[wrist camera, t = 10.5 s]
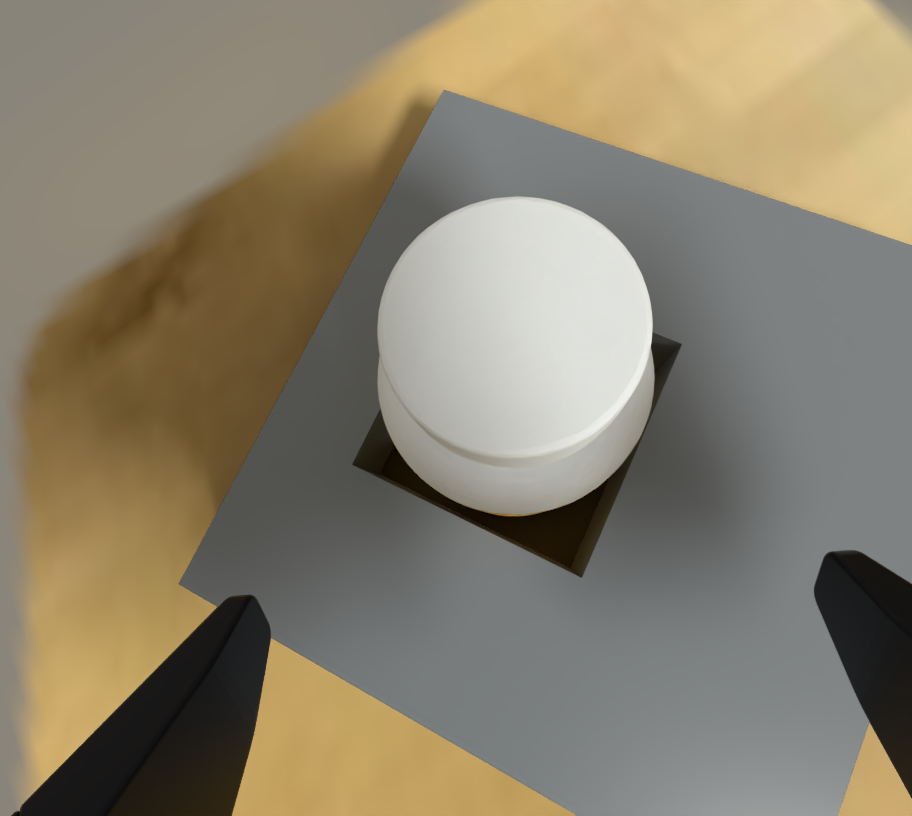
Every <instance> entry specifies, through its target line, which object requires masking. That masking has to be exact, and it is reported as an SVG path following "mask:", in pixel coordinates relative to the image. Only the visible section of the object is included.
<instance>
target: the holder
mask: <svg viewBox="0 0 912 816" xmlns="http://www.w3.org/2000/svg"><path fill="white" fill-rule="evenodd" d="M515 196H519V197H533V198H542V199H547V200H552V201H556V202H559V203H561V204H564V205H567V206H570V207H572V208H575V209H577V210H579V211H582V212H583V213H585V214H587V215H588V216H590V217H592V218H593V219H595V220H596V221H598V222H599V223H601V224H602V225H604V226H605V227H606V228H607V229H609V230H610V231H611V232H612V233H613V234H614V235H615V236H616V237H617V238H618V239H619V240H620V241H621V243H622V244H623V245H624V246H625V247H626V248H627V250H628V251H629V253H630V254H631V256H632V257H633V259H634V260H635V262H636V264H637V266H638V268H639V270H640V272H641V274H642V276H643V279H644V282H645V284H646V287H647V290H648V294H649V297H650V303H651V309H652V320H653V328H652V343H651V351H652V356H653V363H654V376H655V380H654V394H653V399H652V405H651V409H650V413H649V416H648V419H647V423H646V425H645V427H644V430H643V432H642V434H641V436H640V438H639V440H638V442H637V443H636V445H635V446H634V448H633V450H632V451H631V453H630V454H629V455H628V457H627V458H626V459H625V461H624V462H623V463H622V465H621V466H620V467H619V468H618V469H617V470H616V471H615V472H614V473H613V474H612V475H611V476H610V477H609V480H608V482H607V484H606V487H605V489H604V491H603V494H602V496H601V498H600V500H599V503H598V505H597V507H596V510H595V512H594V514H593V517H592V519H591V521H590V524H589V526H588V528H587V531H586V533H585V535H584V537H583V540H582V542H581V544H580V547H579V549H578V551H577V554H576V556H575V558H574V561H573V563H572V565H571V568H569V567H567V566H565V565H563V564H561V563H559V562H557V561H555V560H553V559H551V558H549V557H547V556H545V555H543V554H541V553H539V552H537V551H535V550H533V549H531V548H529V547H527V546H524V545H522V544H520V543H518V542H516V541H514V540H512V539H510V538H508V537H506V536H504V535H502V534H500V533H498V532H496V531H494V530H492V529H490V528H488V527H486V526H484V525H482V524H480V523H478V522H476V521H474V520H472V519H470V518H468V517H466V516H463V515H461V514H459V513H457V512H455V511H453V510H451V509H449V508H447V507H445V506H443V505H441V504H439V503H437V502H435V501H433V500H431V499H429V498H427V497H425V496H423V495H421V494H419V493H417V492H415V491H413V490H411V489H409V488H407V487H405V486H402V485H400V484H398V483H396V482H394V481H392V480H390V479H388V478H386V477H384V476H382V475H380V472H381V470H382V468H383V466H384V464H385V462H386V460H387V458H388V456H389V454H390V452H391V450H392V448H393V446H394V443H393V441H392V439H391V437H390V435H389V433H388V430H387V428H386V425H385V422H384V419H383V415H382V412H381V407H380V403H379V397H378V385H377V382H378V364H379V357H380V353H379V347H378V337H377V326H378V313H379V307H380V302H381V298H382V295H383V292H384V289H385V285H386V283H387V281H388V278H389V276H390V274H391V272H392V270H393V268H394V266H395V265H396V263H397V261H398V260H399V258H400V257H401V255H402V254H403V252H404V251H405V250H406V249H407V248H408V246H409V245H410V244H411V243H412V242H413V241H414V240H415V239H416V237H417V236H418V235H419V234H421V233H422V232H423V231H424V230H425V229H427V228H428V227H429V226H431V225H432V224H433V223H435V222H436V221H438V220H439V219H441V218H442V217H444V216H446V215H448V214H449V213H451V212H453V211H456V210H458V209H461V208H463V207H465V206H468V205H470V204H474V203H477V202H480V201H485V200H489V199H493V198H503V197H515ZM842 550H857V551H860V552H862V553H864V554H866V555H867V556H869V557H870V558H872V559H874V560H875V561H877V562H878V563H880V564H881V565H883V566H885V567H886V568H888V569H889V570H891V571H893V572H894V573H896V574H897V575H899V576H901V577H902V578H904V579H905V580H907V581H909V582H910V583H912V245H909V244H906V243H903V242H900V241H897V240H894V239H891V238H888V237H885V236H882V235H879V234H876V233H873V232H870V231H867V230H864V229H861V228H858V227H855V226H852V225H849V224H846V223H843V222H840V221H837V220H834V219H831V218H828V217H825V216H822V215H819V214H816V213H813V212H810V211H807V210H804V209H801V208H798V207H795V206H792V205H789V204H786V203H783V202H780V201H777V200H774V199H771V198H768V197H765V196H762V195H759V194H756V193H753V192H750V191H747V190H744V189H741V188H738V187H735V186H732V185H729V184H726V183H723V182H720V181H717V180H714V179H711V178H708V177H705V176H702V175H699V174H696V173H693V172H690V171H687V170H684V169H681V168H678V167H675V166H672V165H669V164H666V163H663V162H660V161H657V160H654V159H651V158H648V157H645V156H642V155H639V154H636V153H633V152H630V151H627V150H624V149H621V148H618V147H615V146H612V145H609V144H606V143H603V142H600V141H597V140H594V139H591V138H588V137H585V136H582V135H579V134H576V133H573V132H570V131H567V130H564V129H561V128H558V127H555V126H552V125H549V124H546V123H543V122H540V121H537V120H534V119H531V118H528V117H525V116H522V115H519V114H516V113H513V112H510V111H507V110H504V109H500V108H497V107H494V106H491V105H488V104H485V103H482V102H479V101H476V100H473V99H470V98H467V97H464V96H461V95H458V94H455V93H452V92H449V91H446V90H444V91H443V92H442V94H441V96H440V98H439V100H438V102H437V104H436V106H435V107H434V109H433V111H432V113H431V115H430V117H429V119H428V120H427V122H426V124H425V126H424V128H423V130H422V132H421V133H420V135H419V137H418V139H417V141H416V143H415V145H414V147H413V148H412V150H411V152H410V154H409V156H408V158H407V160H406V161H405V163H404V165H403V167H402V169H401V171H400V173H399V174H398V176H397V178H396V180H395V182H394V184H393V186H392V187H391V189H390V191H389V193H388V195H387V197H386V199H385V201H384V202H383V204H382V206H381V208H380V210H379V212H378V214H377V215H376V217H375V219H374V221H373V223H372V225H371V227H370V228H369V230H368V232H367V234H366V236H365V238H364V240H363V242H362V243H361V245H360V247H359V249H358V251H357V253H356V255H355V256H354V258H353V260H352V262H351V264H350V266H349V268H348V269H347V271H346V273H345V275H344V277H343V279H342V281H341V283H340V284H339V286H338V288H337V290H336V292H335V294H334V296H333V297H332V299H331V301H330V303H329V305H328V307H327V309H326V310H325V312H324V314H323V316H322V318H321V320H320V322H319V324H318V325H317V327H316V329H315V331H314V333H313V335H312V337H311V338H310V340H309V342H308V344H307V346H306V348H305V350H304V351H303V353H302V355H301V357H300V359H299V361H298V363H297V364H296V366H295V368H294V370H293V372H292V374H291V376H290V378H289V379H288V381H287V383H286V385H285V387H284V389H283V391H282V392H281V394H280V396H279V398H278V400H277V402H276V404H275V405H274V407H273V409H272V411H271V413H270V415H269V417H268V419H267V420H266V422H265V424H264V426H263V428H262V430H261V432H260V433H259V435H258V437H257V439H256V441H255V443H254V445H253V446H252V448H251V450H250V452H249V454H248V456H247V458H246V460H245V461H244V463H243V465H242V467H241V469H240V471H239V473H238V474H237V476H236V478H235V480H234V482H233V484H232V486H231V487H230V489H229V491H228V493H227V495H226V497H225V499H224V500H223V502H222V504H221V506H220V508H219V510H218V512H217V514H216V515H215V517H214V519H213V521H212V523H211V525H210V527H209V528H208V530H207V532H206V534H205V536H204V538H203V540H202V541H201V543H200V545H199V547H198V549H197V551H196V553H195V555H194V556H193V558H192V560H191V562H190V564H189V566H188V568H187V569H186V571H185V573H184V575H183V577H182V579H181V581H180V582H179V585H181V586H183V587H185V588H186V589H188V590H190V591H191V592H193V593H195V594H197V595H198V596H200V597H202V598H204V599H205V600H207V601H209V602H210V603H212V604H214V605H216V606H217V607H218V606H219V605H220V604H221V603H222V602H223V601H224V600H225V599H227V598H228V597H230V596H237V595H253V596H255V597H256V598H257V600H258V602H259V604H260V606H261V608H262V610H263V612H264V614H265V616H266V618H267V620H268V622H269V625H270V628H271V638H272V639H274V640H276V641H278V642H279V643H281V644H283V645H284V646H286V647H288V648H290V649H291V650H293V651H295V652H297V653H298V654H300V655H302V656H303V657H305V658H307V659H309V660H310V661H312V662H314V663H316V664H317V665H319V666H321V667H322V668H324V669H326V670H328V671H329V672H331V673H333V674H334V675H336V676H338V677H340V678H341V679H343V680H345V681H347V682H348V683H350V684H352V685H353V686H355V687H357V688H359V689H360V690H362V691H364V692H365V693H367V694H369V695H371V696H372V697H374V698H376V699H378V700H379V701H381V702H383V703H384V704H386V705H388V706H390V707H391V708H393V709H395V710H396V711H398V712H400V713H402V714H403V715H405V716H407V717H409V718H410V719H412V720H414V721H415V722H417V723H419V724H421V725H422V726H424V727H426V728H428V729H429V730H431V731H433V732H434V733H436V734H438V735H440V736H441V737H443V738H445V739H446V740H448V741H450V742H452V743H453V744H455V745H457V746H459V747H460V748H462V749H464V750H465V751H467V752H469V753H471V754H472V755H474V756H476V757H477V758H479V759H481V760H483V761H484V762H486V763H488V764H490V765H491V766H493V767H495V768H496V769H498V770H500V771H502V772H503V773H505V774H507V775H509V776H510V777H512V778H514V779H515V780H517V781H519V782H521V783H522V784H524V785H526V786H527V787H529V788H531V789H533V790H534V791H536V792H538V793H540V794H541V795H543V796H545V797H546V798H548V799H550V800H552V801H553V802H555V803H557V804H558V805H560V806H562V807H564V808H565V809H567V810H569V811H571V812H572V813H574V814H576V815H577V816H838V814H839V811H840V808H841V805H842V802H843V799H844V796H845V793H846V790H847V787H848V784H849V781H850V778H851V775H852V772H853V769H854V766H855V763H856V760H857V757H858V754H859V751H860V748H861V745H862V742H863V739H864V736H865V733H866V730H867V727H868V725H869V720H868V718H867V716H866V714H865V712H864V710H863V709H862V707H861V705H860V703H859V701H858V699H857V696H856V694H855V692H854V690H853V688H852V685H851V683H850V681H849V678H848V676H847V674H846V671H845V669H844V667H843V664H842V662H841V660H840V657H839V655H838V653H837V650H836V648H835V646H834V643H833V641H832V639H831V636H830V634H829V632H828V629H827V627H826V625H825V622H824V620H823V618H822V615H821V613H820V611H819V608H818V606H817V603H816V601H815V597H814V585H815V582H816V579H817V576H818V573H819V570H820V567H821V564H822V561H823V558H824V556H825V555H826V554H827V553H828V552H831V551H842Z"/></svg>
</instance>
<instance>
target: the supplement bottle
mask: <svg viewBox="0 0 912 816" xmlns="http://www.w3.org/2000/svg"><path fill="white" fill-rule="evenodd" d="M652 328H653V320H652V309H651V303H650V297H649V294H648V290H647V287H646V284H645V282H644V279H643V276H642V274H641V272H640V270H639V268H638V266H637V264H636V262H635V260H634V259H633V257H632V256H631V254H630V253H629V251H628V250H627V248H626V247H625V246H624V245H623V244H622V243H621V241H620V240H619V239H618V238H617V237H616V236H615V235H614V234H613V233H612V232H611V231H610V230H609V229H607V228H606V227H605V226H604V225H602V224H601V223H599V222H598V221H596V220H595V219H593V218H592V217H590V216H588V215H587V214H585V213H583V212H582V211H579V210H577V209H575V208H572V207H570V206H567V205H564V204H561V203H559V202H556V201H552V200H547V199H542V198H533V197H519V196H515V197H503V198H493V199H489V200H485V201H480V202H477V203H474V204H470V205H468V206H465V207H463V208H461V209H458V210H456V211H453V212H451V213H449V214H448V215H446V216H444V217H442V218H441V219H439V220H438V221H436V222H435V223H433V224H432V225H431V226H429V227H428V228H427V229H425V230H424V231H423V232H422V233H421V234H419V235H418V236H417V237H416V239H415V240H414V241H413V242H412V243H411V244H410V245H409V246H408V248H407V249H406V250H405V251H404V252H403V254H402V255H401V257H400V258H399V260H398V261H397V263H396V265H395V266H394V268H393V270H392V272H391V274H390V276H389V278H388V281H387V283H386V285H385V289H384V292H383V295H382V298H381V302H380V307H379V313H378V326H377V337H378V347H379V353H380V357H379V364H378V382H377V385H378V397H379V403H380V407H381V412H382V415H383V419H384V422H385V425H386V428H387V430H388V433H389V435H390V437H391V439H392V441H393V443H394V445H395V447H396V448H397V450H398V451H399V453H400V455H401V456H402V457H403V459H404V460H405V461H406V463H407V464H408V465H409V466H410V467H411V469H412V470H413V471H414V472H415V473H416V474H417V475H418V476H419V477H420V478H421V479H422V480H424V481H425V482H426V483H427V484H429V485H430V486H431V487H432V488H434V489H435V490H437V491H438V492H440V493H441V494H443V495H444V496H446V497H448V498H449V499H451V500H453V501H455V502H457V503H460V504H462V505H464V506H466V507H470V508H473V509H476V510H480V511H483V512H487V513H491V514H495V515H500V516H509V517H515V516H528V515H533V514H537V513H541V512H544V511H548V510H553V509H555V508H559V507H562V506H564V505H567V504H570V503H572V502H574V501H576V500H578V499H580V498H582V497H583V496H585V495H587V494H588V493H590V492H591V491H593V490H594V489H596V488H597V487H599V486H600V485H601V484H602V483H603V482H604V481H605V480H607V479H608V478H609V477H610V476H611V475H612V474H613V473H614V472H615V471H616V470H617V469H618V468H619V467H620V466H621V465H622V463H623V462H624V461H625V459H626V458H627V457H628V455H629V454H630V453H631V451H632V450H633V448H634V446H635V445H636V443H637V442H638V440H639V438H640V436H641V434H642V432H643V430H644V427H645V425H646V423H647V419H648V416H649V413H650V409H651V405H652V399H653V394H654V380H655V376H654V363H653V356H652V351H651V343H652Z"/></svg>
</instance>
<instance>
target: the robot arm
mask: <svg viewBox="0 0 912 816" xmlns="http://www.w3.org/2000/svg"><path fill="white" fill-rule="evenodd" d="M814 597H815V601H816V603H817V606H818V608H819V611H820V613H821V615H822V618H823V620H824V622H825V625H826V627H827V629H828V632H829V634H830V636H831V639H832V641H833V643H834V646H835V648H836V650H837V653H838V655H839V657H840V660H841V662H842V664H843V667H844V669H845V671H846V674H847V676H848V678H849V681H850V683H851V685H852V688H853V690H854V692H855V694H856V696H857V699H858V701H859V703H860V705H861V707H862V709H863V710H864V712H865V714H866V716H867V718H868V720H869V722H870V724H871V725H872V727H873V729H874V731H875V733H876V735H877V736H878V738H879V740H880V742H881V744H882V745H883V747H884V749H885V751H886V753H887V754H888V756H889V758H890V760H891V762H892V764H893V765H894V767H895V769H896V771H897V773H898V774H899V776H900V778H901V780H902V782H903V783H904V785H905V787H906V789H907V791H908V793H909V794H910V796H911V798H912V583H910V582H909V581H907V580H905V579H904V578H902V577H901V576H899V575H897V574H896V573H894V572H893V571H891V570H889V569H888V568H886V567H885V566H883V565H881V564H880V563H878V562H877V561H875V560H874V559H872V558H870V557H869V556H867V555H866V554H864V553H862V552H860V551H857V550H842V551H831V552H828V553H827V554H826V555H825V556H824V558H823V561H822V564H821V567H820V570H819V573H818V576H817V579H816V582H815V585H814ZM270 640H271V628H270V625H269V622H268V620H267V618H266V616H265V614H264V612H263V610H262V608H261V606H260V604H259V602H258V600H257V598H256V597H255V596H253V595H237V596H230V597H228V598H227V599H225V600H224V601H223V602H222V603H221V604H220V605H219V606H218V607H217V608H216V609H215V610H214V611H213V612H212V613H211V614H210V615H209V616H208V617H207V618H206V619H205V620H204V621H203V622H202V623H201V624H200V625H199V626H198V627H197V628H196V629H195V630H194V631H193V632H192V633H191V634H190V635H189V636H188V637H187V638H186V639H185V641H184V642H183V643H182V644H181V645H180V646H179V647H178V648H177V649H176V650H175V651H174V652H173V653H172V654H171V655H170V656H169V657H168V658H167V659H166V660H165V661H164V662H163V663H162V664H161V665H160V666H159V667H158V668H157V669H156V670H155V671H154V672H153V673H152V674H151V675H150V676H149V677H148V678H147V679H146V680H145V681H144V682H143V683H142V684H141V685H140V686H139V687H138V688H137V689H136V690H135V691H134V692H133V693H132V694H131V695H130V696H129V697H128V698H127V699H126V700H125V701H124V702H123V703H122V704H121V705H120V706H119V707H118V708H117V709H116V710H115V711H114V712H113V713H112V714H111V715H110V716H109V717H108V718H107V719H106V720H105V722H104V723H103V724H102V725H101V726H100V727H99V728H98V729H97V730H96V731H95V732H94V733H93V734H92V735H91V736H90V737H89V738H88V739H87V740H86V741H85V742H84V743H83V744H82V745H81V746H80V747H79V748H78V749H77V750H76V751H75V752H74V753H73V754H72V755H71V756H70V757H69V758H68V759H67V760H66V761H65V762H64V763H63V764H62V765H61V766H60V767H59V768H58V769H57V770H56V771H55V772H54V773H53V774H52V775H51V776H50V777H49V778H48V779H47V780H46V781H45V782H44V783H43V784H42V785H41V786H40V787H39V788H38V789H37V790H36V791H35V792H34V793H33V794H32V795H31V796H30V797H29V798H28V799H27V800H26V801H25V803H24V804H23V805H22V806H21V808H20V811H16V812H15V813H13V815H11V816H232V813H233V809H234V806H235V802H236V798H237V795H238V791H239V788H240V784H241V780H242V777H243V773H244V769H245V766H246V762H247V759H248V755H249V751H250V748H251V744H252V740H253V736H254V731H255V726H256V721H257V716H258V710H259V704H260V699H261V693H262V687H263V681H264V675H265V669H266V664H267V658H268V652H269V646H270Z"/></svg>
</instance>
